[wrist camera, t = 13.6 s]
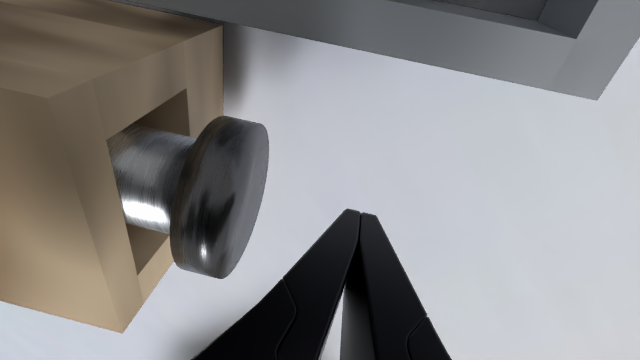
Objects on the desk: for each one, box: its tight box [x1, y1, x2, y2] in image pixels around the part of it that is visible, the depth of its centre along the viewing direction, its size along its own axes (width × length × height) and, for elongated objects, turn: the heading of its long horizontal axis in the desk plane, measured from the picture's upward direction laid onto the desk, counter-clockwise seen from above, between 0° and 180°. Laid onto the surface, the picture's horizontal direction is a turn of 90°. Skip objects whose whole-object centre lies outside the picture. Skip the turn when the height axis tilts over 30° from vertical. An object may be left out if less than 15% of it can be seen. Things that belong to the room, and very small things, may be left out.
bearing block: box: [0, 0, 223, 333], centre depth 11 cm, size 8×7×7 cm
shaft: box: [106, 116, 269, 279], centre depth 10 cm, size 12×4×4 cm, turn 81°
